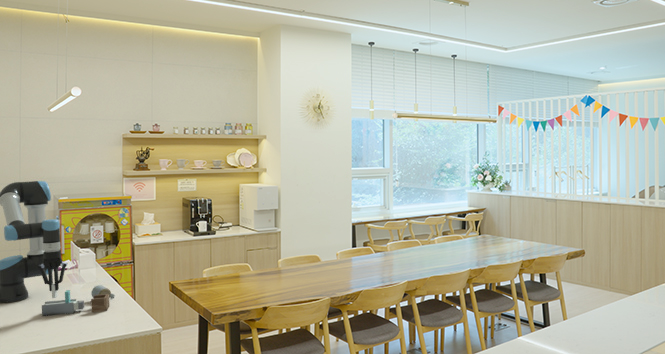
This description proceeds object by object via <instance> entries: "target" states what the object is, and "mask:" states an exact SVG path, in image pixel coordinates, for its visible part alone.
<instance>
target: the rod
mask: <svg viewBox="0 0 665 354" xmlns="http://www.w3.org/2000/svg"><path fill="white" fill-rule="evenodd" d="M71 299H72V298H71V289H68V290H66V291H64V300H65V302H61V303H70V302H71ZM72 302H73V303H74V310H76V311H78V310H84V308H85V300H76V301H72ZM50 304H59V303H50ZM43 305H48V304H45V303H44V304H43Z"/></svg>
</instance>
